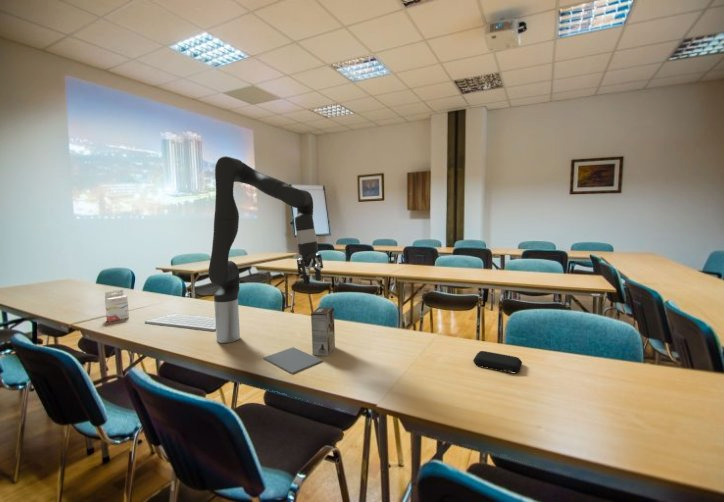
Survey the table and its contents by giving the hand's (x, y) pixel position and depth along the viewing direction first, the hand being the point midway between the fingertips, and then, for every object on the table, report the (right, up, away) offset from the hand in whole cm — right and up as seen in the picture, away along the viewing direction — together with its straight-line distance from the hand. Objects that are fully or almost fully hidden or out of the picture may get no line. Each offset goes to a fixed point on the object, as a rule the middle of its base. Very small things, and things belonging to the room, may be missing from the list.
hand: (313, 282), depth 133 cm
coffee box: (+5, -26, -2) cm, 27 cm away
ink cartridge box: (-107, -23, +43) cm, 117 cm away
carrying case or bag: (+65, -27, -17) cm, 73 cm away
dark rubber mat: (-6, -27, -10) cm, 29 cm away
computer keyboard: (-65, -24, +37) cm, 79 cm away
